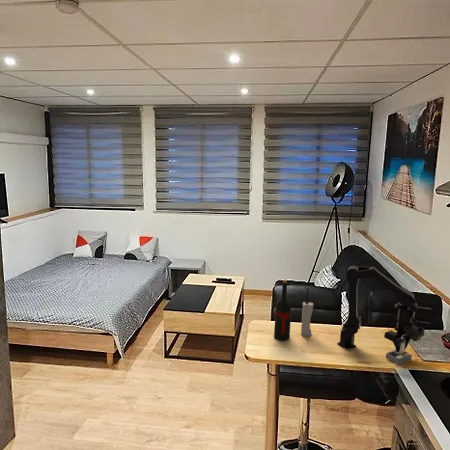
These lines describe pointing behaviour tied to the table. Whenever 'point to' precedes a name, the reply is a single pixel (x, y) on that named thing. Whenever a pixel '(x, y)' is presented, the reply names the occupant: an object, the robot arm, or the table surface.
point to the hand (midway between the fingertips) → (400, 350)
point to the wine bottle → (282, 316)
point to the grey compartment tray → (398, 357)
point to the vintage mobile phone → (306, 317)
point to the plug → (402, 347)
